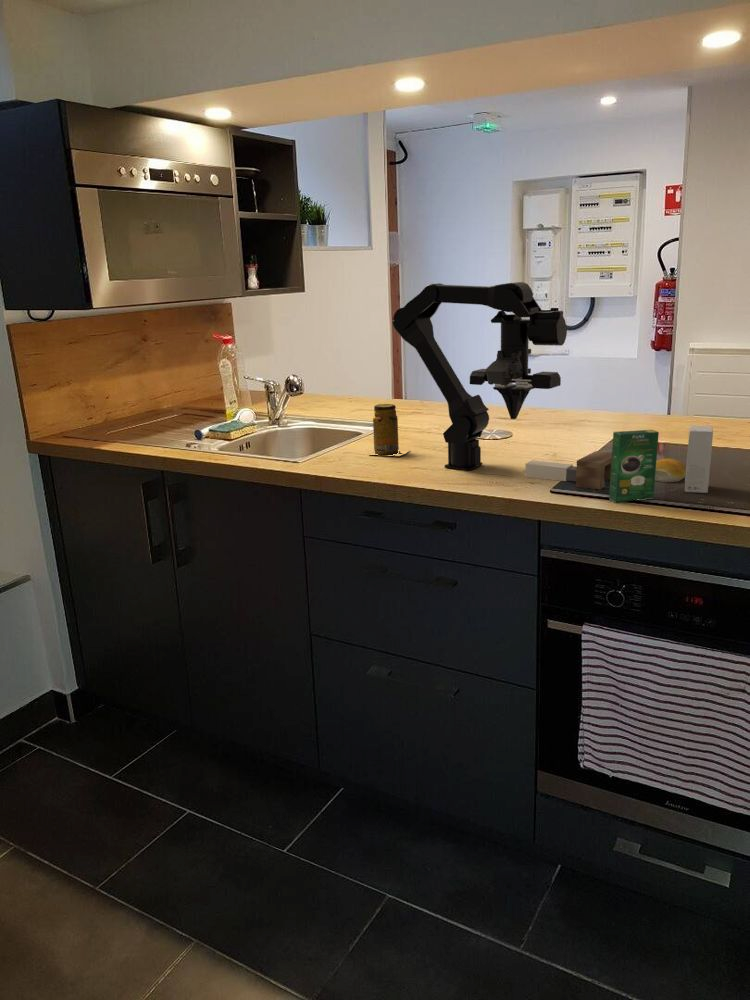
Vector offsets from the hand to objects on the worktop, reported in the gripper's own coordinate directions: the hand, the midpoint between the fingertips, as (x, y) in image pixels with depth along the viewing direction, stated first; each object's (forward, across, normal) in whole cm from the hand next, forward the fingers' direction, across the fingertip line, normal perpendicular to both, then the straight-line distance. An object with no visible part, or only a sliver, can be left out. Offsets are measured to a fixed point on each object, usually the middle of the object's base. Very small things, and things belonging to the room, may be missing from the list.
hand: (513, 419), depth 167 cm
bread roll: (+12, +29, +11) cm, 33 cm away
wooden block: (+12, +19, 0) cm, 22 cm away
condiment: (+12, -35, +2) cm, 37 cm away
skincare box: (+12, +37, +5) cm, 39 cm away
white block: (+12, +9, 0) cm, 15 cm away
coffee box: (+12, +29, -8) cm, 32 cm away
